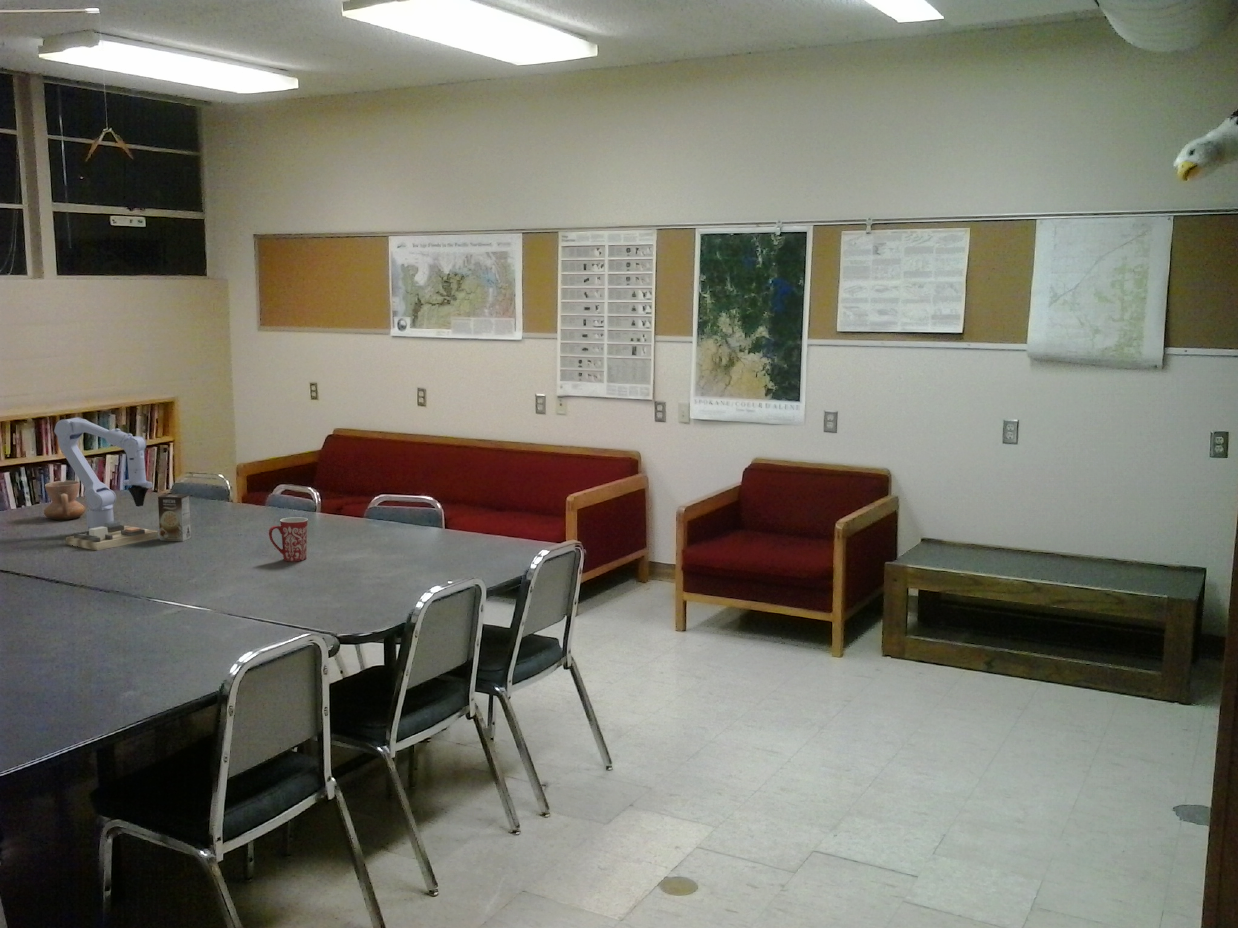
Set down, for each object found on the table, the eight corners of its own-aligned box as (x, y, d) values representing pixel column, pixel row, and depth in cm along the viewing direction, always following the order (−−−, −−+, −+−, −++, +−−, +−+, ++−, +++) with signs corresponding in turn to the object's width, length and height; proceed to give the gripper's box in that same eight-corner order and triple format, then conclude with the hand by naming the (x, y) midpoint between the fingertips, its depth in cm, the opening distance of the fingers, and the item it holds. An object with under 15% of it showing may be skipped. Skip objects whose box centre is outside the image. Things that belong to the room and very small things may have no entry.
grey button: (104, 526, 393) (104, 522, 392) (113, 524, 396) (113, 520, 396) (110, 527, 391) (110, 523, 391) (119, 526, 394) (119, 521, 394)
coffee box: (158, 540, 388) (156, 496, 386) (168, 537, 395) (165, 493, 392) (183, 541, 387) (181, 497, 385) (192, 537, 394) (189, 494, 391)
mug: (306, 555, 367) (305, 515, 366) (311, 560, 359) (310, 520, 357) (268, 558, 362) (266, 519, 360) (272, 564, 354) (270, 524, 352)
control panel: (66, 544, 382) (65, 533, 381) (127, 532, 402) (126, 521, 402) (97, 550, 373) (96, 539, 372) (158, 537, 393) (157, 527, 392)
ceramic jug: (45, 515, 432) (41, 480, 430) (85, 512, 439) (82, 478, 436) (44, 525, 416) (40, 488, 414) (86, 521, 423) (83, 485, 420)
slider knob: (89, 540, 377) (88, 528, 376) (102, 537, 381) (102, 526, 380) (94, 541, 375) (94, 529, 375) (108, 538, 379) (107, 527, 379)
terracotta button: (125, 533, 387) (125, 529, 386) (134, 531, 390) (134, 527, 390) (131, 534, 385) (131, 530, 385) (140, 532, 388) (140, 528, 388)
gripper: (114, 469, 397) (117, 506, 399) (139, 472, 389) (142, 509, 391) (131, 467, 403) (134, 503, 405) (156, 469, 395) (159, 506, 397)
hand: (139, 506), depth 398 cm, fingers closed
